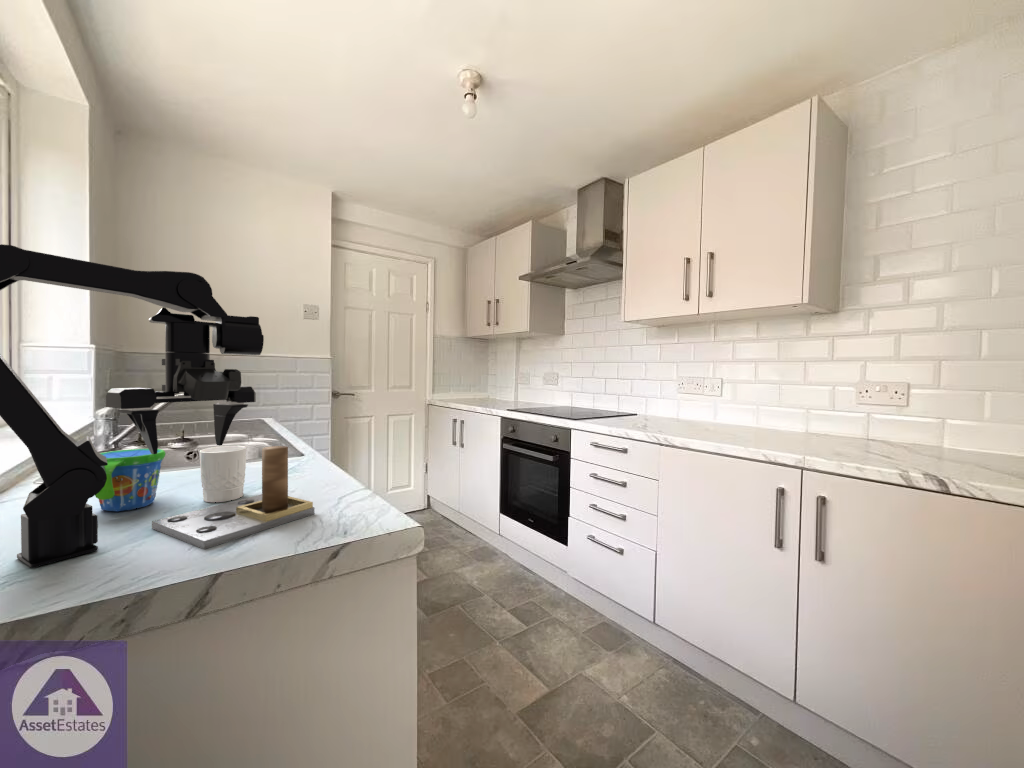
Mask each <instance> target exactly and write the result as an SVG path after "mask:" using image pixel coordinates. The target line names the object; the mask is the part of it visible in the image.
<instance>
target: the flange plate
mask: <svg viewBox="0 0 1024 768" xmlns="http://www.w3.org/2000/svg"><path fill="white" fill-rule="evenodd" d="M312 515H315V507H314V502H313V501H309V500H307V499H306V500H305V499H301V498H298V497H294V496H289V495H288V508H285V509H282V510H278V511H275V512H271V513H264V512H262V493H261V494H257V495H253V496H250V497H249V496H248V497H246V498H245V497H244V498H242V499H241V498H239V499H235V500H232V501H227V502H223V503H220V504H216V505H212V506H209V507H203V508H201V509H195V510H192V511H188V512H184V513H180V514H176V515H171V516H168V517H163V518H160V519H159V518H158V519H155V520H152V521H151V529H153V530H155V531H157V532H160V533H162V534H165V535H168V536H170V537H172V538H174V539H177V540H180V541H182V542H185V543H187V544H190V545H192V546H195V547H197V548H200V549H202V550H206V549H209V548H212V547H216V546H219V545H221V544H224V543H228V542H231V541H235V540H237V539H241V538H243V537H247V536H250V535H253V534H257V533H259V532H262V531H265V530H269V529H271V528H276V527H279V526H282V525H283V524H287V523H290V522H293V521H296V520H299V519H304V518H306V517H309V516H312Z"/></svg>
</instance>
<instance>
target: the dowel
mask: <svg viewBox="0 0 1024 768" xmlns="http://www.w3.org/2000/svg"><path fill="white" fill-rule="evenodd" d="M261 494H262V512H264V513H271V512H275V511H278V510H282V509H285V508H288V496H289V446H284V445H274V446H267V447H263V448H261Z"/></svg>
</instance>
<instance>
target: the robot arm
mask: <svg viewBox="0 0 1024 768" xmlns="http://www.w3.org/2000/svg"><path fill="white" fill-rule="evenodd" d="M20 281H26V282H32V283H40V284H46V285H52V286H59V287H64V288H65V287H66V288H72V289H79V290H85V291H93V292H96V293H97V292H98V293H103V294H110V295H111V294H112V295H118V296H123V297H131V298H134V299H137V300H138V299H139V300H142V301H144V302H148V303H151V304H153V305H156V306H160V307H161V308H160V309H159V311H158V312H156V314H155V315H152V316H151V317H150V318H148V321H149V323H151V324H161V325H165V326H164V335H165V337H164V342H165V344H164V347H165V349H164V350H165V351H164V353H165V355H164V356H165V357H164V358H162V359H161V366H165V369H164V371H165V374H164V375H165V384H161V391H155V389H154V388H151V387H150V388H149V387H115V388H114V387H113V388H110V389H109V390H108V391H107V393H106V395H105V408H112V409H117V413H119V414H126V416H127V417H128V418H129V419H130V421H131V422H132V423H133V425H134V426H135V427H136V430H137V431H138V432H139V434H140V436H141V438H142V439H143V442H144V443H145V445H146V447H147V449H149V450H150V452H151V454H157V450H158V449H159V448H158V446H159V441H158V431H157V430H158V429H157V418H158V413H159V412H160V411H159V410H160V409H153V406H154V405H155V404H163V403H166V404H169V403H186V402H190V403H191V402H206V401H207V402H208V401H218V403H213V406H212V407H213V423H214V424H213V425H214V438H215V444H216V446H223V444H224V441H225V438H226V436H227V434H228V432H229V429H230V426H231V424H232V423H233V421H234V419H235V417H236V415H237V414H238V413H239V412H240V411H241V410H242V409H243V408H248V406H249V404H247V403H256V396H257V395H256V394H257V393H256V391H255V389H254V388H253V387H252V386H247V385H242V373H241V371H240V370H238V369H236V368H234V369H233V368H230V369H229V368H225V369H223V371H217V370H216V363H215V359H211V357H210V356H211V353H210V351H211V348H210V346H211V343H212V347H213V349H219V353H220V354H221V355H232V356H233V355H236V356H238V355H239V356H243V355H244V356H260V355H261V354H262V351H263V349H264V343H265V341H264V339H265V338H264V337H265V336H264V334H263V331H262V330H263V329H262V327H261V325H260V317H258V316H252V315H249V316H240V315H239V316H238V315H231V314H230V315H228V314H227V312H226V311H225V309H223V307H222V306H221V305H220V303H218V301H217V300H216V299H215V297H214V296H213V289H212V287H211V285H210V282H208V281H207V280H206V279H205V277H204V276H202V275H200V274H197V273H194V272H189V271H175V270H174V271H172V270H134V269H130V268H124V267H119V266H114V265H107V264H103V263H97V262H91V261H87V260H82V259H77V258H73V257H72V258H70V257H66V256H61V255H56V254H55V255H54V254H50V253H45V252H44V253H43V252H39V251H34V250H28V249H24V248H21V247H18V246H16V245H11V244H4V243H3V244H0V291H2V290H4V289H6V288H7V287H10V286H11V285H12V284H13V285H14V284H15V283H18V282H20ZM168 309H170V310H174V311H177V312H180V313H173V312H171V311H169V310H168ZM184 313H185V314H184ZM186 313H191V314H186ZM195 317H197V318H198V319H200V320H201V321H199V320H195ZM206 321H207V322H206ZM209 321H210V322H209ZM211 328H212V329H211ZM210 329H211V331H212V332H211V331H210ZM210 333H211V334H210ZM210 335H211V337H210ZM210 338H211V339H210ZM210 340H211V341H210ZM210 342H211V343H210ZM180 393H183V394H180ZM0 418H1V419H2V420H3V421H4V422H5V423H6V424H7V426H8V427H9V428H10V429H11V431H12V432H13V433H14V434H16V436H17V437H18V439H20V441H21V442H22V443H23V445H24V446H26V448H27V449H28V451H29V453H30V455H31V457H32V460H33V462H34V465H35V467H36V469H37V471H38V474H39V476H40V477H41V480H42V481H43V482H42V483H40V485H38V486H37V487H36V488H34V489H33V490H31V491H30V492H29V493H28V495H27V497H26V500H25V502H24V505H23V508H22V510H23V512H24V513H23V514H22V513H21V515H20V545H21V549H20V550H21V552H19V553H17V554H16V558H17V559H18V560H20V561H21V562H22V563H24V564H25V565H27V566H28V567H29V568H38V567H41V566H44V565H48V564H52V563H55V562H56V563H57V562H61V561H63V560H66V559H71V558H75V557H78V556H82V555H86V554H89V553H93V552H97V551H98V550H99V546H97V545H96V544H97V543H98V540H99V539H98V537H99V536H98V532H99V531H98V530H99V529H98V525H99V524H98V515H97V514H94V513H93V505H91V504H88V500H89V499H91V498H93V497H95V495H96V494H97V493H99V492H100V491H101V490H102V488H103V487H104V486H105V483H106V481H107V475H106V470H105V466H106V465H108V463H107V459H106V456H104V455H102V454H100V453H101V452H99V451H98V450H97V449H96V447H95V446H94V444H93V441H92V439H91V438H90V436H89V435H87V436H85V437H83V438H81V439H79V440H78V441H77V439H75V438H73V437H72V436H71V435H70V434H68V433H67V432H66V431H64V429H62V428H61V426H60V425H59V423H57V421H56V420H55V419H54V418H53V416H52V415H51V413H49V412H48V410H47V409H46V408H45V407H44V405H43V404H42V403H41V402H40V401H39V400H38V398H37V397H36V396H35V394H33V392H32V391H31V390H30V388H29V387H28V386H27V384H26V383H25V382H24V381H23V379H22V378H21V377H19V375H18V373H17V372H16V371H15V370H14V369H13V367H12V366H11V365H10V364H9V363H8V361H7V360H6V359H5V358H4V356H3V355H2V354H1V353H0Z"/></svg>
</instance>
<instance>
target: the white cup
mask: <svg viewBox="0 0 1024 768" xmlns="http://www.w3.org/2000/svg"><path fill="white" fill-rule="evenodd" d="M247 448H248V447H247V446H244V445H220V446H219V445H217V446H213V447H210V446H209V447H206V448H203V449H200V450H199V453H198V454H199V462H200V463H199V467H200V468H199V469H200V481H201V488H202V497H203V498H202V499H203V502H206V503H215V502H216V503H226V502H232V501H236V500H239V499H241V498H242V497H243V496H244V487H245V481H246V479H245V478H246V468H247V467H246V466H247V465H246V464H247ZM240 497H241V498H240ZM231 500H232V501H231ZM216 503H215V504H216Z"/></svg>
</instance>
